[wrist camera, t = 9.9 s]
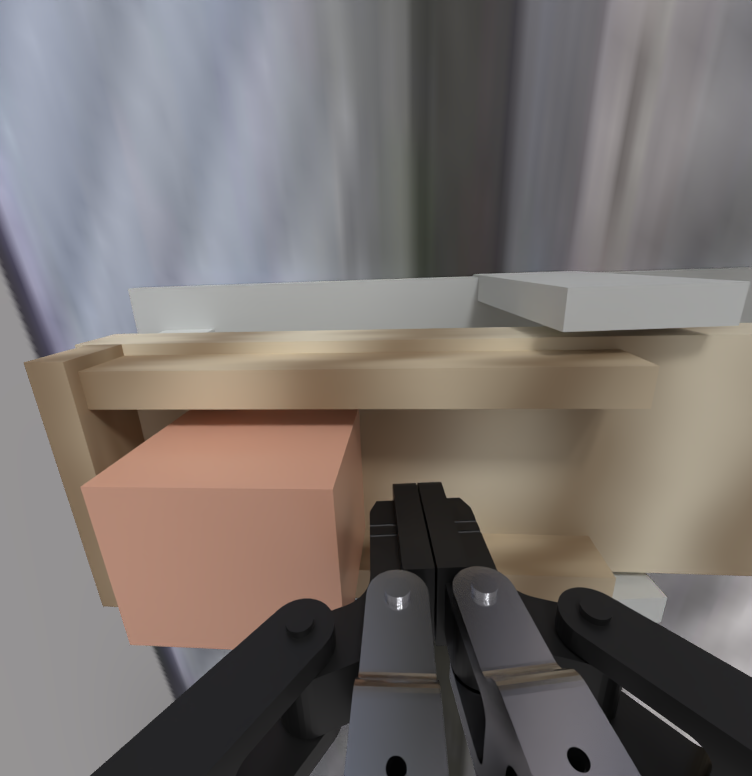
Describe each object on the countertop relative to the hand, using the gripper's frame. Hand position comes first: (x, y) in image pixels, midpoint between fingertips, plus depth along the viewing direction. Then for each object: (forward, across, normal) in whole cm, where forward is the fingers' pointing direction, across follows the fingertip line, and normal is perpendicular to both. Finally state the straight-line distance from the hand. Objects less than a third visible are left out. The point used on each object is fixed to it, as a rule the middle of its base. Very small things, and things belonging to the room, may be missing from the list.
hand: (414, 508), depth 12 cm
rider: (+2, +5, 0) cm, 5 cm away
